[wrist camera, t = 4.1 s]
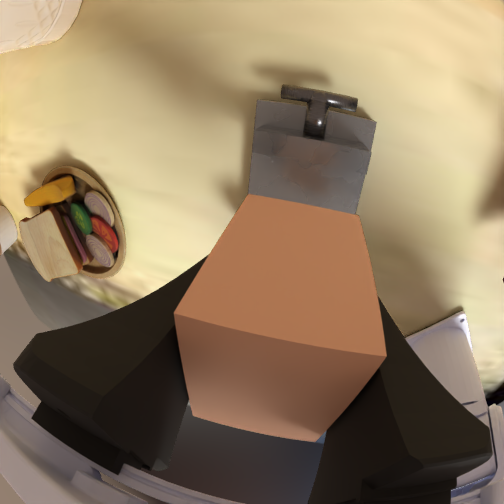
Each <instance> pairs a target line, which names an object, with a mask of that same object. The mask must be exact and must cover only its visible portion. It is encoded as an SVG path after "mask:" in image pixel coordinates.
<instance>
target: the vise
mask: <svg viewBox="0 0 504 504" xmlns="http://www.w3.org/2000/svg"><path fill="white" fill-rule="evenodd" d="M281 98H283V99H290V100H297V101H303V102H307V106H305V105H299V104H292V103H286V102H278V101H270V100H261V99H260V100H257V107H256V117H255V127H254V137H253V147H252V158H251V168H250V179H249V189H248V194H252V195H258V196H264V197H270V198H275V199H281V200H286V201H292V202H297V203H302V204H307V205H312V206H317V207H322V208H327V209H331V210H336V211H341V212H345V213H350V214H354V215H355V213H356V209H357V205H358V202H359V198H360V194H361V190H362V186H363V182H364V178H365V174H367V170H368V165H369V161H370V157H371V147H372V143H373V138H374V133H375V128H376V123H377V122H375V121H374V120H370V119H366V118H362V117H358V116H354V115H350V114H346V113H341V112H336V111H332V110H329V107H335V108H340V109H344V110H349V111H353V112H356V108H357V102H358V99H357V98H354V97H350V96H345V95H341V94H336V93H331V92H326V91H321V90H315V89H309V88H303V87H297V86H290V85H282V90H281Z"/></svg>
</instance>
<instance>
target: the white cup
mask: <svg viewBox="0 0 504 504" xmlns="http://www.w3.org/2000/svg"><path fill="white" fill-rule="evenodd" d="M81 3H82V0H0V54H2V53H6V52H10V51H14V50H18V49H24V48H27V47H31V46H37V45H45V44H50V43H52V42H55V41H57V40H59V39H60V38H61V37H62V36H63V35H64V34H65V33H66V32H67V31H68V30H69V29H70V27H71V25H72V24H73V22H74V20H75V19H76V17H77V15H78V13H79V9H80V6H81Z"/></svg>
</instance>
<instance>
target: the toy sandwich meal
mask: <svg viewBox="0 0 504 504" xmlns="http://www.w3.org/2000/svg"><path fill="white" fill-rule="evenodd" d="M24 203H25V205H26V206H40V214H38V215H36V216H34V217H32V218H27V217H26V218H24V219H22V220H21V221H20V222H19V228H20V234H21V237H22V241H23V244H24V246H25V249H26V251H27V253H28V255H29V257H30V259H31V261H32V263H33V264H34V266H35V268H36V269H37V271H38V272H39V273H40V275H41V276H42V277H43V278H44V279H45V280H46V281H48V282H50V281H51V280H52V279H53V278H58V277H63V276H69V275H74V274H78V273H79V272H81V273H82V274H84V275H87V276H89V277H92V278H97V279H105V278H110V277H112V276H114V275H115V274H117V273H118V272H119V270H120V269H121V267H122V266H123V263H124V260H125V255H126V238H125V233H124V228H123V225H122V221H121V218H120V215H119V213H118V211H117V208H116V206H115V204H114V203H113V201H112V199H111V198H110V196H109V195H108V193H107V192H106V191H105V189H104V188H103V187H102V186H101V185H100V184H99V183H98V182H97V181H96V180H95V179H94V178H93V177H91V176H90V175H89V174H87V173H86V172H84V171H82V170H80V169H78V168H75V167H71V166H60V167H57V168H55V169H53V170H52V171H50V172H49V173H48V175H47V176H46V177H45V179H44V181H43V183H42V186H41V187H40V188H38V189H36V190H35V191H33V192H32V193H31V194H30V195H29V196H28V197H26V198H25V199H24Z"/></svg>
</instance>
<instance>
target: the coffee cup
mask: <svg viewBox="0 0 504 504" xmlns="http://www.w3.org/2000/svg"><path fill="white" fill-rule="evenodd" d="M16 240H17V229H16V225H15V222H14V220H13V218H12V216H11V214H10V212H9V211H8V210H7V209H6V208H5V207H4V206H0V256H1V254H2V253H3V252H4V251H6V250H7V249H8V248H9V247H10V246H11V245H12V244H13V243H14V242H15V241H16Z"/></svg>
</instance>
